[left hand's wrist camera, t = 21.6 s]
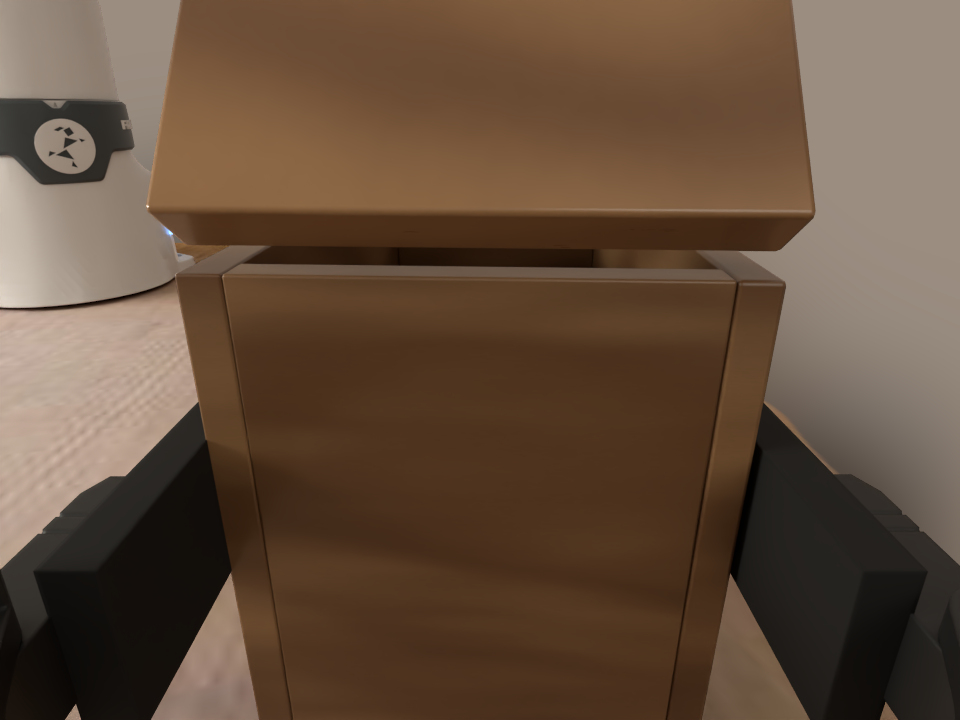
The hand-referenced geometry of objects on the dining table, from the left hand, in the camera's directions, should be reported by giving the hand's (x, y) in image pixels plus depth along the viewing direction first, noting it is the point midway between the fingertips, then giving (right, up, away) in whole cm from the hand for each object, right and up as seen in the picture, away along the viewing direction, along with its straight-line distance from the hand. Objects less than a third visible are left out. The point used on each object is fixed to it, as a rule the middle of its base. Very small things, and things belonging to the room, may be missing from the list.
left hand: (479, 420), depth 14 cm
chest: (0, -5, +7) cm, 8 cm away
